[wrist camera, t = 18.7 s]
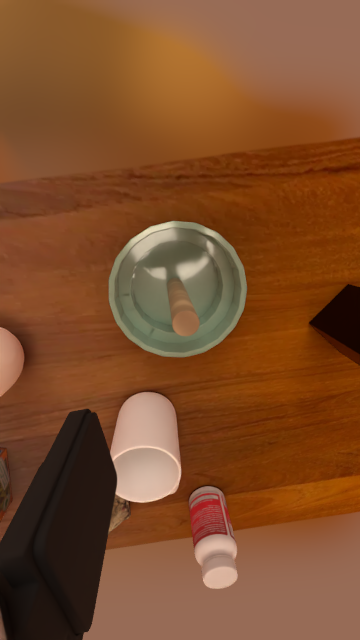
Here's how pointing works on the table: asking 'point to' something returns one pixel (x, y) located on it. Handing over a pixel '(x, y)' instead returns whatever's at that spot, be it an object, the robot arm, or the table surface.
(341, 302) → the vase
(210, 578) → the pill bottle
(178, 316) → the stick
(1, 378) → the egg
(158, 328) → the bowl
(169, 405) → the mug
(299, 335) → the table surface
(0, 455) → the milk carton
